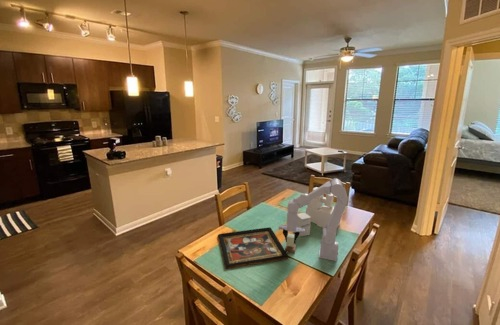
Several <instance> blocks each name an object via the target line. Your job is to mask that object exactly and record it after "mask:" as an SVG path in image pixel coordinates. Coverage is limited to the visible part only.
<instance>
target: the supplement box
mask: <svg viewBox="0 0 500 325" xmlns="http://www.w3.org/2000/svg"><path fill="white" fill-rule="evenodd" d="M311 223H312V222H311V217H310V216H309V215H307V214H306V212H301V213H298V218H297V227H299V228H302V229H305V233H304V234H302V233H300V234H299V236H298V237H300V238H302V237H305V236H309V235H310V234H311V233H310V232H311Z"/></svg>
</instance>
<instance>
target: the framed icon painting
mask: <svg viewBox="0 0 500 325" xmlns="http://www.w3.org/2000/svg"><path fill="white" fill-rule="evenodd" d="M217 237H218V242H219V246H220V249H221V255H222V260H223V264H224V268H225V269H226V270H227V269H228V270H229V269H233V268H240V267H245V266H252V265H256V264H264V263H269V262H275V261H276V262H277V261H282V260H288V259H289V258H290V257H289V255H288V252H286V251H285V247H284V246H283V245H282V244H281V241H280V240H279V238H278V237H277V235H276V233H275V232H274V230H273V229H272V228H271V227H261V228H255V229H254V228H253V229H246V230H239V231H232V232H224V233H218V234H217Z"/></svg>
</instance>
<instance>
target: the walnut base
mask: <svg viewBox="0 0 500 325" xmlns="http://www.w3.org/2000/svg"><path fill="white" fill-rule="evenodd" d="M284 250H285V251H286V253H289V254H296V250H297V244H294V247H291V246H287V243H286V244H285V247H284Z"/></svg>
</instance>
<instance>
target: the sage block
mask: <svg viewBox="0 0 500 325" xmlns="http://www.w3.org/2000/svg"><path fill="white" fill-rule="evenodd" d="M294 234H295V233H294ZM294 234H293V233H290V232H288V236H287V242H286V244H287V246H291V247H294V245H295V244H294Z"/></svg>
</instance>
